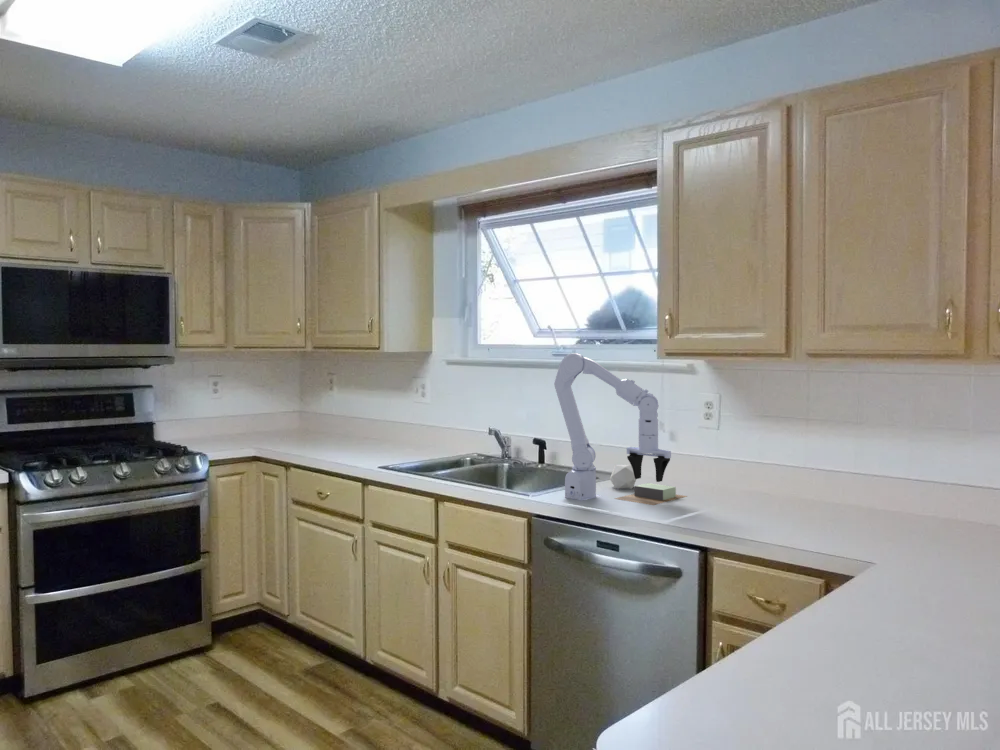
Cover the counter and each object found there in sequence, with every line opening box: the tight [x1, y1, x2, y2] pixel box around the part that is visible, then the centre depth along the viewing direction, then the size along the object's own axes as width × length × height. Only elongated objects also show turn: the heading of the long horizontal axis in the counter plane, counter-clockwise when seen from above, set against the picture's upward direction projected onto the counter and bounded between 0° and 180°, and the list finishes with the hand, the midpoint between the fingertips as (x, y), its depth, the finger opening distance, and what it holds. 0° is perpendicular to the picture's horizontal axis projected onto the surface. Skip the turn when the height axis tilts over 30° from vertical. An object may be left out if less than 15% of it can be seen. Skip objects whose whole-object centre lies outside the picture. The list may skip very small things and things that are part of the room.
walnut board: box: [614, 493, 688, 506], centre depth 231 cm, size 18×14×1 cm
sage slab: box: [633, 482, 677, 500], centre depth 232 cm, size 3×10×7 cm
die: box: [609, 464, 637, 490], centre depth 248 cm, size 8×9×10 cm
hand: (648, 480), depth 230 cm, fingers open, 7 cm apart
